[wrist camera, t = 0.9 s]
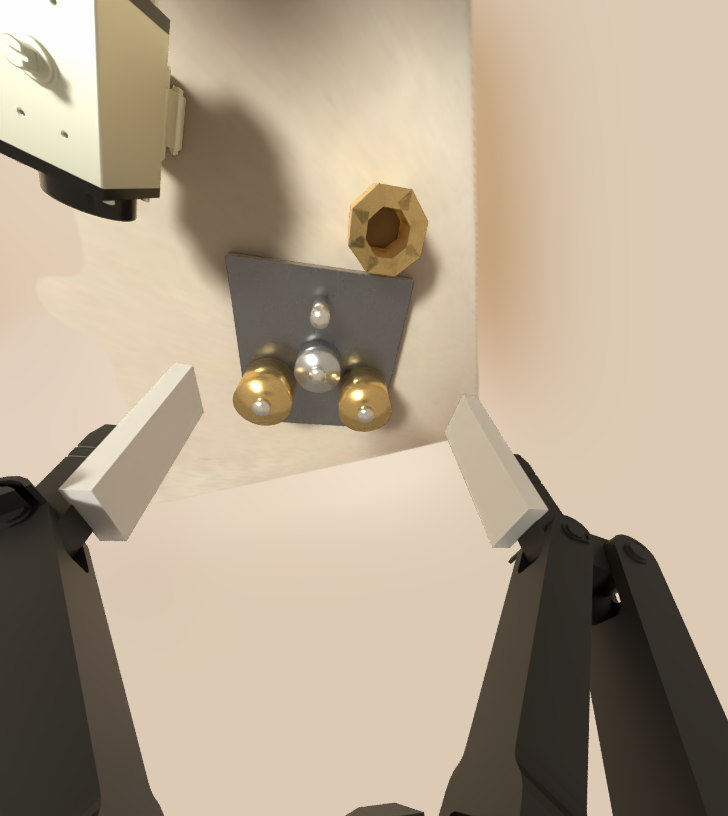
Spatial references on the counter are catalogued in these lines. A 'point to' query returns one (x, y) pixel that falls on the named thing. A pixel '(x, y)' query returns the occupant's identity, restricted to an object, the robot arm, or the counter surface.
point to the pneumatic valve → (89, 99)
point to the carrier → (315, 341)
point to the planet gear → (408, 234)
